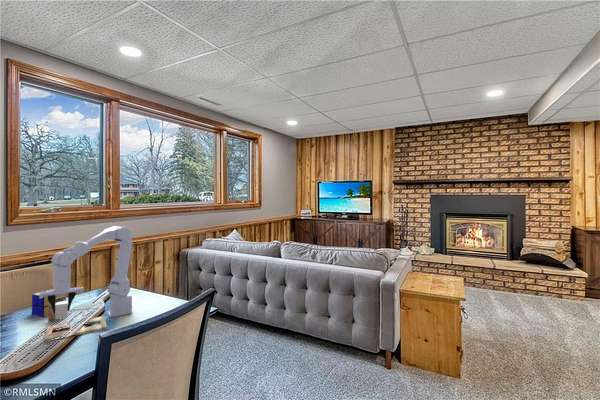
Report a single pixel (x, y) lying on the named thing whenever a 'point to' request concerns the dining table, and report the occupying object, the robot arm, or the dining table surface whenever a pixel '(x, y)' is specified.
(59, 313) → the steel peg
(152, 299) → the dining table surface
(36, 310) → the puzzle cube
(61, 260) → the robot arm
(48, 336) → the rail
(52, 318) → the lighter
